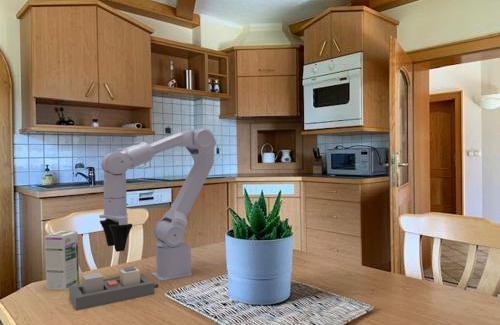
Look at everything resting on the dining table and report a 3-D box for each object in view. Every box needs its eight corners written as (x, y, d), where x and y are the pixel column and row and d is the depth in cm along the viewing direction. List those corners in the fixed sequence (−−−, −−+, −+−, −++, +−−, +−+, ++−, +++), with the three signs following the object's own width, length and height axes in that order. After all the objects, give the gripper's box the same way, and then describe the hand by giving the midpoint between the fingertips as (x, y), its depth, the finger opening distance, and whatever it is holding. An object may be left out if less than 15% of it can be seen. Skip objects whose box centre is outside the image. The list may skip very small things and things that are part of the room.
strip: (151, 283, 105) (151, 261, 105) (163, 292, 98) (163, 269, 97) (69, 299, 94) (69, 274, 94) (76, 311, 86) (75, 284, 86)
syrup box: (65, 291, 99) (64, 235, 99) (45, 290, 100) (44, 234, 100) (79, 284, 105) (78, 230, 104) (60, 283, 106) (59, 230, 106)
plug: (135, 289, 100) (135, 265, 100) (140, 294, 97) (139, 268, 97) (119, 292, 98) (119, 267, 98) (124, 297, 95) (123, 271, 94)
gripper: (93, 196, 107) (93, 245, 107) (107, 201, 95) (107, 256, 95) (118, 194, 111) (119, 241, 111) (135, 199, 99) (136, 251, 99)
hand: (115, 248), depth 104 cm, fingers open, 7 cm apart
